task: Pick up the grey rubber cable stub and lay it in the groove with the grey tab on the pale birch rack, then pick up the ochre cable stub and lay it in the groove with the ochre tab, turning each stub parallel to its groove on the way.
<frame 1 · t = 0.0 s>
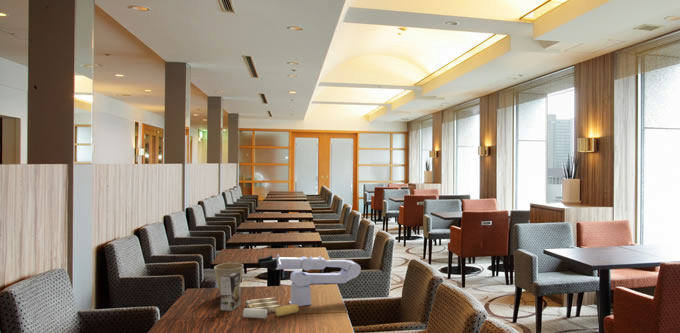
hand: (259, 263, 216), 22 cm above the table, tool horizontal, fingers open, 7 cm apart
grey cord: (255, 313, 203), point 2 cm above the table
rack: (264, 308, 216), on the table
plant pot: (229, 296, 236), on the table
coffee box: (230, 308, 218), on the table
ochre cord: (287, 310, 208), point 2 cm above the table
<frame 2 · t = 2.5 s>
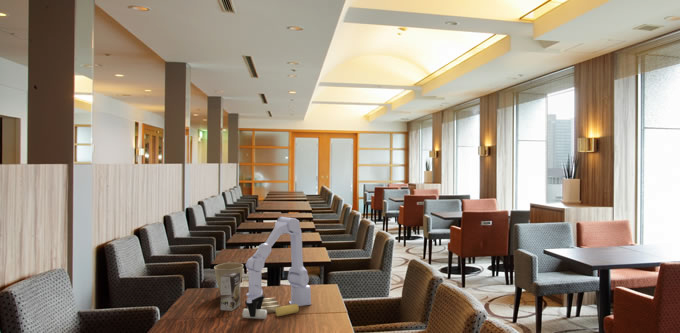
hand: (255, 314, 204), 1 cm above the table, tool pointing down, fingers open, 6 cm apart
grey cord: (254, 313, 203), point 2 cm above the table, tilted 30°
everything else where it was.
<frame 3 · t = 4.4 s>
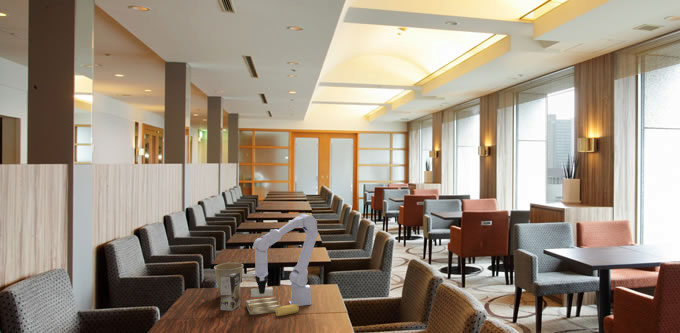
hand: (261, 292, 214), 8 cm above the table, tool pointing down, fingers closed on grey cord, 4 cm apart
grey cord: (261, 292, 214), point 8 cm above the table, touching gripper
everything else where it was.
when the fingers open (3 cm above the table, at t = 6.0 s): grey cord drops 1 cm, point 2 cm above the table.
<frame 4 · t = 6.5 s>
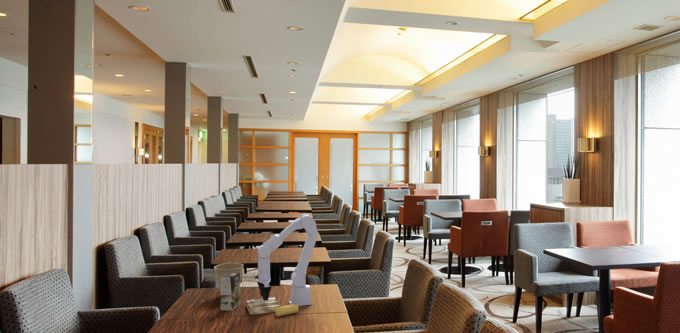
hand: (264, 298, 219), 4 cm above the table, tool pointing down, fingers open, 7 cm apart
grey cord: (264, 302, 219), point 2 cm above the table
everything else where it was.
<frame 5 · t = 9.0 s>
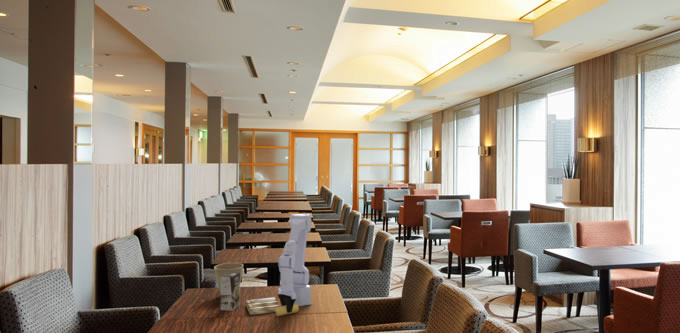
hand: (287, 310, 208), 1 cm above the table, tool pointing down, fingers closed on ochre cord, 4 cm apart
ochre cord: (287, 309, 208), point 2 cm above the table, touching gripper
everything else where it was.
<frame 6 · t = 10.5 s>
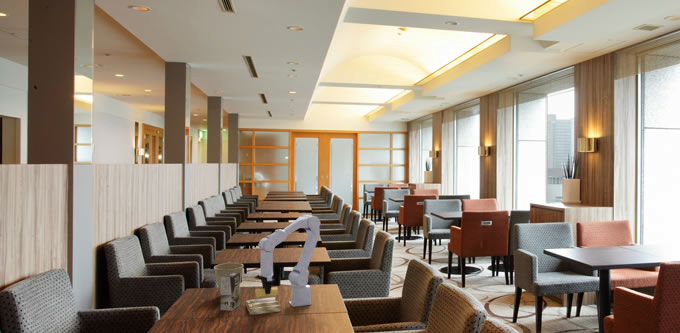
hand: (266, 292, 213), 8 cm above the table, tool pointing down, fingers closed on ochre cord, 4 cm apart
ochre cord: (266, 292, 213), point 8 cm above the table, tilted 10°, touching gripper
everything else where it was.
when the fingers open (3 cm above the table, at t = 11.9 s): ochre cord drops 2 cm, point 2 cm above the table.
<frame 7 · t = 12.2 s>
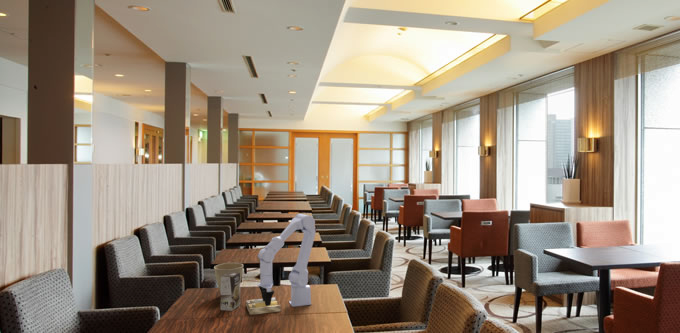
hand: (266, 303, 213), 3 cm above the table, tool pointing down, fingers open, 7 cm apart
ochre cord: (266, 306, 213), point 2 cm above the table
everything else where it was.
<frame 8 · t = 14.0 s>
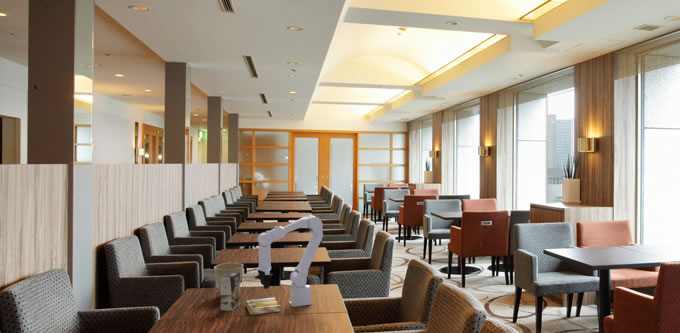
hand: (264, 286, 217), 10 cm above the table, tool pointing down, fingers open, 7 cm apart
ochre cord: (266, 306, 213), point 2 cm above the table, tilted 10°
everything else where it was.
at the end: grey cord inside the target area on the rack (0.8 cm from its centre), point 1.8 cm above the rack's base; ochre cord inside the target area on the rack (0.4 cm from its centre), point 1.8 cm above the rack's base; the gripper is holding nothing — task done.
